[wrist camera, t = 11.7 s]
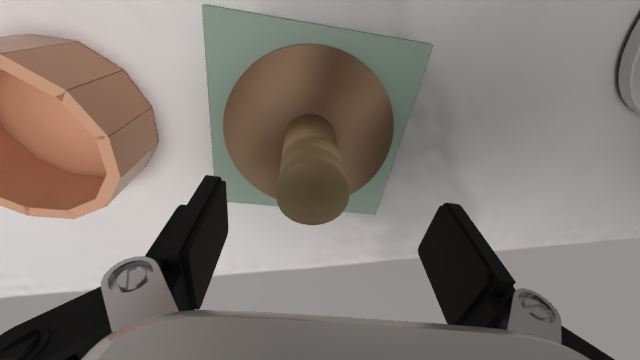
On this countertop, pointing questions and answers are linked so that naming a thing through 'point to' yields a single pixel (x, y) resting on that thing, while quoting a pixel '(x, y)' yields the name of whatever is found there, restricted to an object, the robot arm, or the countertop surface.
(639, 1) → the countertop surface
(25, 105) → the bowl
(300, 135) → the lid
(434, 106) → the countertop surface
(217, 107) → the mat
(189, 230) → the robot arm
